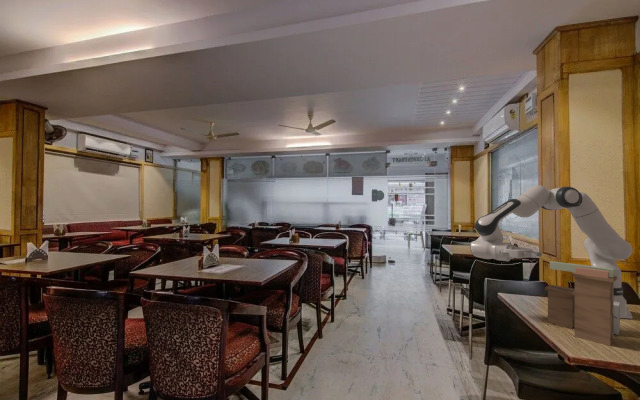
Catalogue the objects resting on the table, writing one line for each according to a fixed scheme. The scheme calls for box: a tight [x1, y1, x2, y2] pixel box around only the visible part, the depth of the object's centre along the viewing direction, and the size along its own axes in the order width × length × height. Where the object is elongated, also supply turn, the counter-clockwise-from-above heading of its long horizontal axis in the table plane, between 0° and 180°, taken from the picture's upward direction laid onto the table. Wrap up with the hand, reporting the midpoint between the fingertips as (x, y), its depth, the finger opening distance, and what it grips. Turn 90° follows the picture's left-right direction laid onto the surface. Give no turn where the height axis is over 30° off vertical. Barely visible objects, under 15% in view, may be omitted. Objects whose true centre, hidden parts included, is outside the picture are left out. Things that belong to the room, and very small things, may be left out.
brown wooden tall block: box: [570, 272, 617, 347], centre depth 130 cm, size 9×13×26 cm
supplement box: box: [614, 301, 621, 336], centre depth 139 cm, size 7×7×13 cm
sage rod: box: [549, 261, 615, 277], centre depth 135 cm, size 3×21×3 cm, turn 39°
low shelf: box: [544, 284, 575, 329], centre depth 147 cm, size 9×11×16 cm
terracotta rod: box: [576, 267, 609, 278], centre depth 129 cm, size 2×10×2 cm, turn 39°
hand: (538, 254), depth 145 cm, fingers open, 8 cm apart
